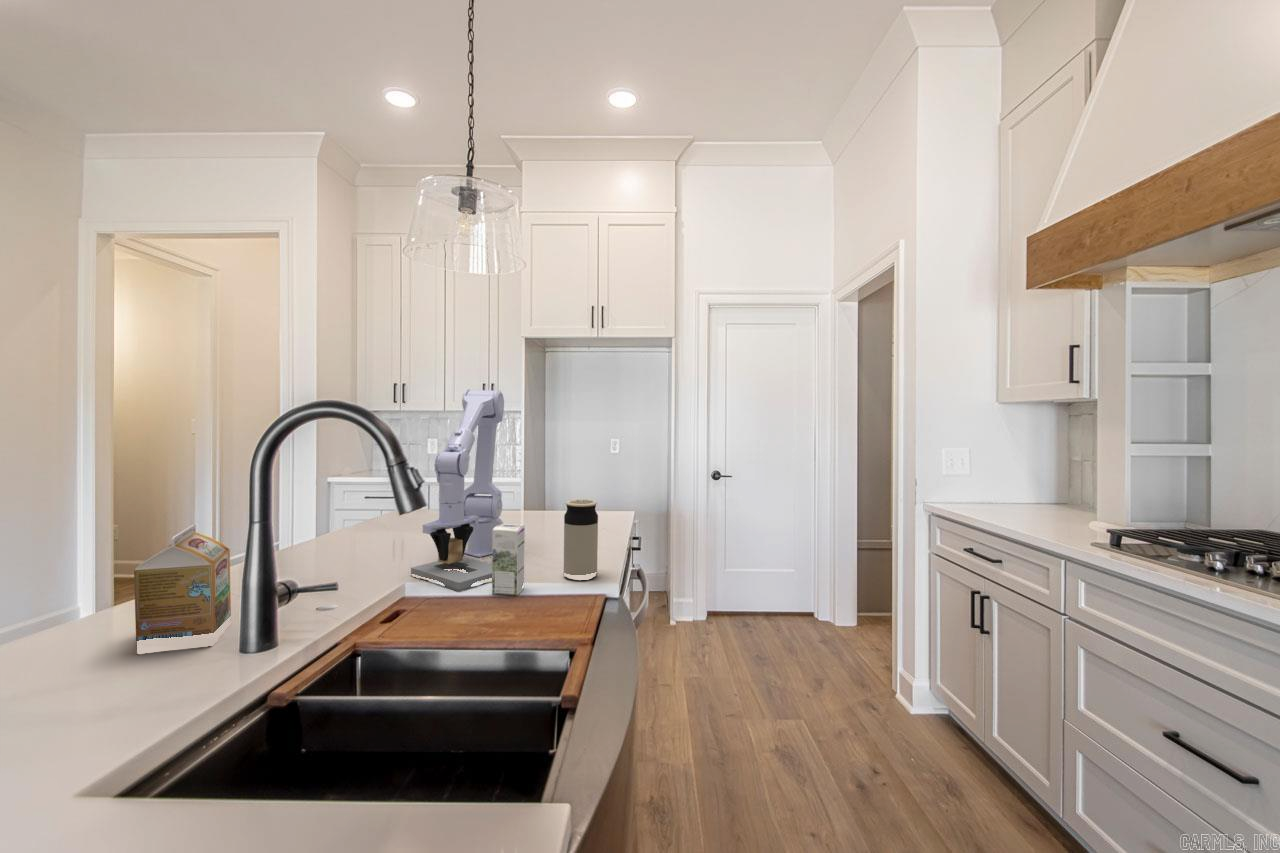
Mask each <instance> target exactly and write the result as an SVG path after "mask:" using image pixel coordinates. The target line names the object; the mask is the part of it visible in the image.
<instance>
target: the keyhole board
mask: <svg viewBox="0 0 1280 853" xmlns="http://www.w3.org/2000/svg"><path fill="white" fill-rule="evenodd" d="M444 569H448V568H444V563H443V562H439V561H438V560H435V561H433V562H428V563H423V564H420V565H415V566H412V567H410V575H411V574H415V575H418V576H421V577H425V578H429V579H433V580H437V581H439V582H441V583H443V584H444V585H445V587H444V588H446V589H449V590H453V591H455V592H459V593H460V592H462V591H467V590H469V589H471V588H470V587H471V585H472V584H473V583H475V582H477V581H481V580H485V579H489V578H492V563H489V562H486V561H481V560H478V559H475V558H473V557H469V556H468V557H467V556H463V560H462V561H458V562H457V567H455V568H451V569H452V570H450V571H448V570H444ZM453 569H459V570H460V569H461V570H462V569H464V570H466V572H468V573H463V572H460V571H457V570H453Z"/></svg>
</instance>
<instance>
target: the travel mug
mask: <svg viewBox="0 0 1280 853" xmlns="http://www.w3.org/2000/svg"><path fill="white" fill-rule="evenodd" d="M597 504H598V502H597V500H594V499H589V498H588V499H587V498H586V499H585V498H583V499H581V498H578V499H577V498H576V499H569V500H567V501H565V505H566V512H565V513H564V516H563V518H564V519H563V520H564V521H563V523H564V524H563V530H564V531H563V574H564V573H566V574H570V575H586V574H591V573H595V572H597V573H598V548H599V547H598V542H599V538H598V536H599V535H598V534H599V530H598V529H599V526H598V525H599V514H598V512H597V510H596V506H597Z"/></svg>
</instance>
